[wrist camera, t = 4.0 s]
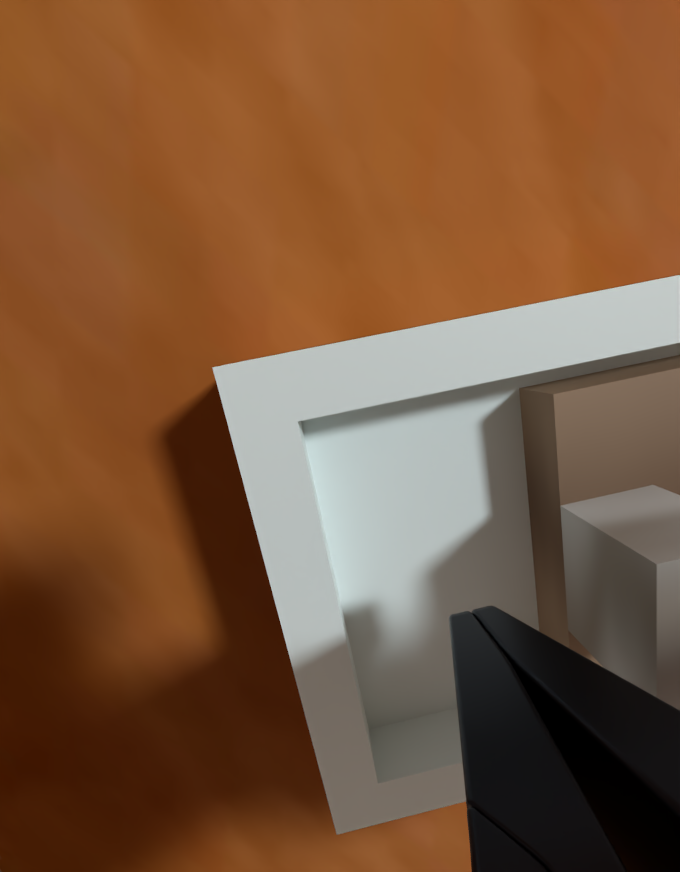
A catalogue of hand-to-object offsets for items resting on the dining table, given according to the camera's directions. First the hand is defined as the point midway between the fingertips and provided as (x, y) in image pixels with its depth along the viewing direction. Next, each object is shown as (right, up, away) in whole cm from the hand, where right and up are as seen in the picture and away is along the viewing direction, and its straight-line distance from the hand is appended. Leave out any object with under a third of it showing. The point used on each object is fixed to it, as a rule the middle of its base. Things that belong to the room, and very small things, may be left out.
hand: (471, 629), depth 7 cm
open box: (+4, +2, +4) cm, 6 cm away
